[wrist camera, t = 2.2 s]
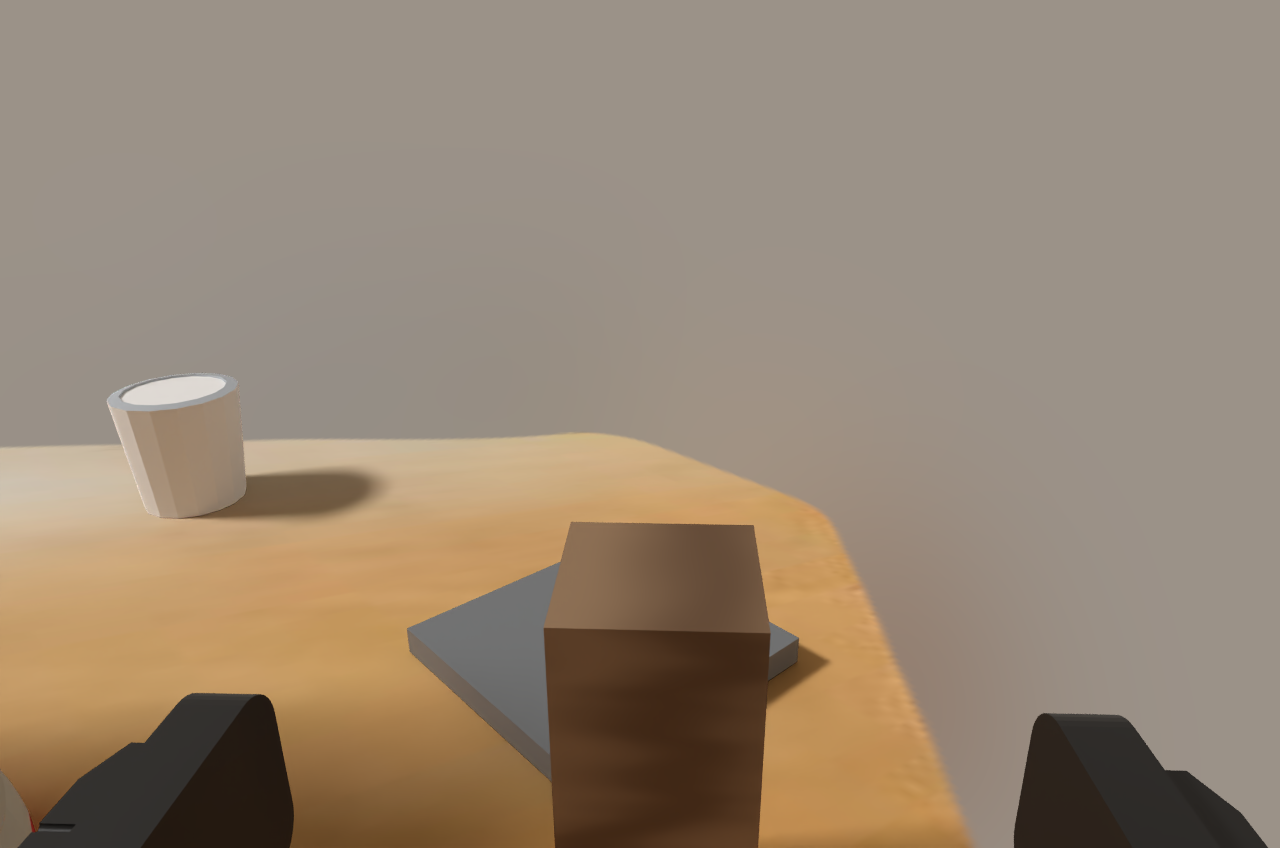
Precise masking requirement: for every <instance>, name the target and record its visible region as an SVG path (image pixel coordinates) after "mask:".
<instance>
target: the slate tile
mask: <svg viewBox="0 0 1280 848" xmlns="http://www.w3.org/2000/svg"><path fill="white" fill-rule="evenodd" d="M559 566H560V562H559V563H557V564H554V565H552V566H550V567H547V568H545V569H543V570H541V571H538V572H536V573H534V574H531V575H529V576H527V577H524V578H522V579H520V580H518V581H515V582H513V583H511V584H508V585H506V586H504V587H501V588H499V589H497V590H495V591H492V592H490V593H488V594H485V595H483V596H481V597H478V598H476V599H474V600H472V601H469V602H467V603H465V604H462V605H460V606H458V607H455V608H453V609H451V610H449V611H446V612H444V613H442V614H439V615H437V616H435V617H432V618H430V619H428V620H426V621H423V622H421V623H419V624H416V625H414V626H412V627H409V628H407V633H408V641H409V649H410V652H411V653H412V654H413V655H414V656H415V657H416V658H417V659H418V660H419V661H421V662H422V663H423V664H424V665H425V666H426V667H427V668H428V669H429V670H430V671H431V672H433V673H434V674H435V675H436V676H437V677H438V678H439V679H440V680H441V681H442V682H443V683H445V684H446V685H447V686H448V687H449V688H450V689H451V690H452V691H453V692H454V693H455V694H457V695H458V696H459V697H460V698H461V699H462V700H463V701H464V702H465V703H466V704H467V705H469V706H470V707H471V708H472V709H473V710H474V711H475V712H476V713H477V714H478V715H479V716H480V717H482V718H483V719H484V720H485V721H486V722H487V723H488V724H489V725H490V726H491V727H492V728H494V729H495V730H496V731H497V732H498V733H499V734H500V735H501V736H502V737H503V738H504V739H506V740H507V741H508V742H509V743H510V744H511V745H512V746H513V747H514V748H515V749H516V750H518V751H519V752H520V753H521V754H522V755H523V756H524V757H525V758H526V759H527V760H528V761H530V762H531V763H532V764H533V765H534V766H535V767H536V768H537V769H538V770H539V771H540V772H542V773H543V774H544V775H545V776H546V777H547V778H548V779H549V780H550V781H551V782H552V778H551V759H550V741H549V722H548V704H547V685H546V666H545V648H544V629H543V628H544V624H545V620H546V616H547V612H548V608H549V605H550V601H551V597H552V593H553V589H554V585H555V582H556V578H557V574H558V570H559ZM769 626H770V632H771V636H770V653H769V670H768V681H769V680H770V679H772V678H773V677H775V676H776V675H778V674H779V673H781V672H782V671H784V670H785V669H787V668H788V667H790V666H791V665H793V664H794V663H796V662H797V658H798V644H799V638H798V637H796V636H794V635H792V634H791V633H789V632H787V631H785V630H783V629H781V628H780V627H778V626H776V625H774V624H772V623H771V622H769Z"/></svg>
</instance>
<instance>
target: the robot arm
mask: <svg viewBox="0 0 1280 848" xmlns="http://www.w3.org/2000/svg"><path fill="white" fill-rule="evenodd" d="M293 822H294V810H293V802H292V797H291V792H290V787H289V782H288V777H287V772H286V767H285V762H284V757H283V752H282V746H281V741H280V736H279V731H278V726H277V721H276V716H275V712H274V708H273V705H272V703H271V701H270V700H269V699H268V698H267V697H266V696H265V695H261V694H216V693H192V694H190V695H187V696H186V697H184V698H183V699H182V700H181V701H180V702H179V703H178V704H177V705H176V706H175V707H174V709H173V710H172V711H171V712H170V713H169V714H168V716H167V717H166V718H165V719H164V720H163V722H162V723H161V724H160V725H159V726H158V728H157V729H156V730H155V731H154V732H153V733H152V735H151V736H150V737H149V738H148V739H147V741H146V742H145V743H130V744H128V745H127V746H126V747H124V748H123V749H121V750H120V751H118V752H117V753H115V754H114V755H113V756H111V757H110V758H108V759H107V760H105V761H104V762H103V763H101V764H100V765H98V766H97V767H95V768H94V769H92V770H91V771H90V772H88V773H87V774H85V775H84V776H82V777H81V778H80V779H78V780H77V782H76V783H75V784H74V785H73V786H72V787H71V788H70V789H69V791H68V792H67V793H66V794H65V795H64V796H63V797H62V798H61V799H60V801H59V802H58V803H57V804H56V805H55V806H54V807H53V808H52V810H51V811H50V812H49V813H48V814H47V815H46V816H45V817H44V818H43V820H42V821H41V822H40V823H39V824H40V826H39V829H38V831H37V832H31V833H30V834H29V835H28V836H27V837H26V839H25V840H24V841H23V842H22V843H21V844H20V845H19V846H18V848H289V847H290V843H291V838H292V832H293ZM1014 848H1268V847H1267V846H1266V844H1265V843H1264V842H1263V841H1262V839H1261V838H1260V837H1259V836H1258V834H1257V833H1256V832H1255V831H1254V829H1253V828H1252V827H1251V826H1250V824H1249V823H1248V821H1247V820H1246V819H1245V818H1244V816H1243V815H1242V814H1241V813H1240V812H1239V811H1238V810H1236V809H1235V808H1234V807H1233V806H1231V805H1230V804H1229V803H1227V802H1226V801H1224V800H1223V799H1222V798H1221V797H1220V796H1218V795H1217V794H1216V793H1214V792H1213V791H1212V790H1211V789H1209V788H1208V787H1207V786H1205V785H1204V784H1203V783H1201V782H1200V781H1199V780H1198V779H1196V778H1195V777H1194V776H1192V775H1191V774H1190V773H1189V772H1187V771H1170V770H1164V768H1163V767H1162V766H1161V764H1160V763H1159V761H1158V760H1157V759H1156V757H1155V756H1154V754H1153V753H1152V752H1151V750H1150V749H1149V747H1148V746H1147V745H1146V743H1145V742H1144V740H1143V739H1142V738H1141V736H1140V735H1139V733H1138V732H1137V731H1136V729H1135V728H1134V727H1133V725H1132V724H1131V723H1130V722H1129V721H1128V720H1127V719H1125V718H1124V717H1122V716H1119V715H1097V714H1092V715H1091V714H1049V713H1048V714H1047V713H1044V714H1041V715H1040V716H1038V718H1037V719H1036V721H1035V723H1034V726H1033V730H1032V734H1031V740H1030V746H1029V751H1028V756H1027V762H1026V768H1025V773H1024V779H1023V784H1022V790H1021V795H1020V800H1019V806H1018V812H1017V817H1016V823H1015V830H1014Z"/></svg>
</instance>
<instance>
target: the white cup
mask: <svg viewBox="0 0 1280 848" xmlns="http://www.w3.org/2000/svg"><path fill="white" fill-rule="evenodd" d="M107 404H108V407H109V410H110V412H111V415H112V418H113V421H114V423H115V426H116V429H117V432H118V435H119V437H120V440H121V443H122V446H123V449H124V451H125V454H126V457H127V460H128V463H129V465H130V468H131V471H132V474H133V477H134V479H135V482H136V485H137V488H138V490H139V493H140V496H141V499H142V502H143V504H144V507H145V509H146V510H147V512H148V513H149V514H151V515H154V516H157V517H160V518H186V517H194V516H201V515H204V514H208V513H211V512H215V511H219V510H221V509H223V508H225V507H228V506H230V505H232V504H234V503H236V502H237V501H238V500H239V499H240V498H242V497H243V496H244V495H245V492H246V488H247V487H246V474H245V461H244V448H243V435H242V423H241V411H240V397H239V385H238V382H237V380H235V379H234V378H233V377H231V376H226V375H221V374H213V373H193V374H192V373H191V374H181V375H171V376H165V377H160V378H154V379H149V380H145V381H142V382H139V383H135V384H132V385H128V386H126V387H124V388H122V389H120V390H118V391H116V392H114V393H112V394H111V395H110V397H109V398H108V399H107Z"/></svg>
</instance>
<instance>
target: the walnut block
mask: <svg viewBox="0 0 1280 848" xmlns="http://www.w3.org/2000/svg"><path fill="white" fill-rule="evenodd" d="M543 629H544V648H545V666H546V685H547V704H548V722H549V741H550V759H551V778H552V797H553V815H554V834H555V848H758V838H759V821H760V805H761V788H762V771H763V754H764V737H765V721H766V704H767V687H768V670H769V653H770V636H771V632H770V626H769V619H768V613H767V607H766V601H765V594H764V588H763V582H762V576H761V569H760V563H759V557H758V551H757V544H756V538H755V532H754V525H706V524H651V523H595V522H571V524H570V528H569V532H568V536H567V539H566V543H565V547H564V551H563V555H562V559H561V562H560V566H559V570H558V574H557V578H556V582H555V585H554V589H553V593H552V597H551V601H550V605H549V608H548V612H547V616H546V620H545V624H544V628H543Z"/></svg>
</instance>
